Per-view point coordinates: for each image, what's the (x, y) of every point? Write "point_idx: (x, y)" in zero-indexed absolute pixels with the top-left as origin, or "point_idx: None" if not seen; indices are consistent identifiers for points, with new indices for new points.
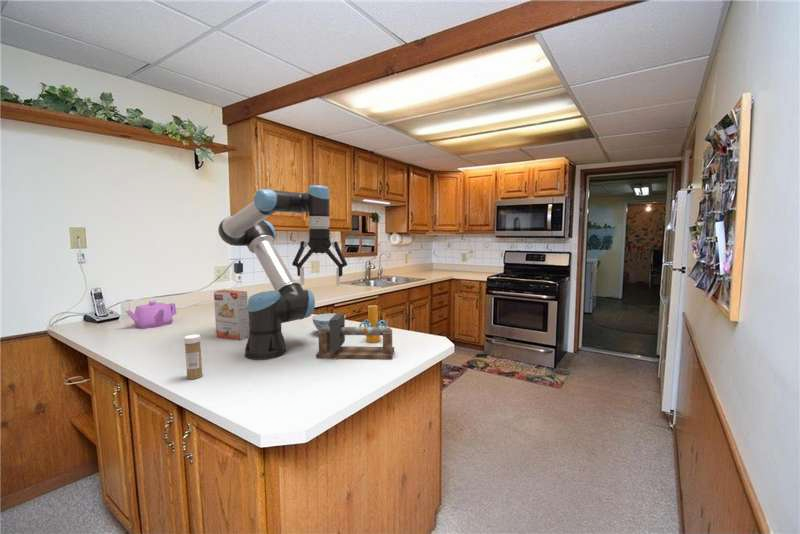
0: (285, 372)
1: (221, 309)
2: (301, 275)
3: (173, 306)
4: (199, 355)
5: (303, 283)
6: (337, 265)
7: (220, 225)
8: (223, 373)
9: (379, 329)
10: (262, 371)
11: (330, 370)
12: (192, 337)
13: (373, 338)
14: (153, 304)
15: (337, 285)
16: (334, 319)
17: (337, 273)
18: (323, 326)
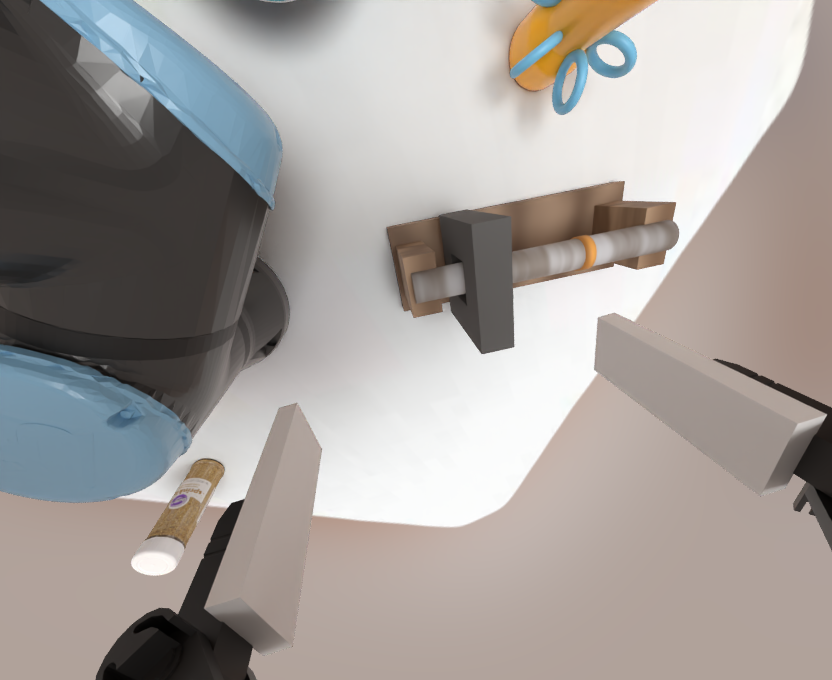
0: (380, 401)
1: None
2: (303, 534)
3: None
4: (200, 510)
5: (305, 428)
6: (827, 526)
7: None
8: (250, 441)
9: (635, 256)
10: (326, 410)
11: (472, 366)
12: (169, 569)
13: (551, 84)
14: None
15: (601, 367)
16: (499, 341)
17: (701, 440)
18: (277, 2)
